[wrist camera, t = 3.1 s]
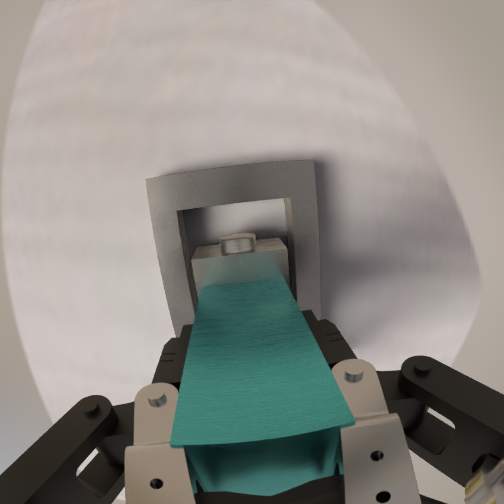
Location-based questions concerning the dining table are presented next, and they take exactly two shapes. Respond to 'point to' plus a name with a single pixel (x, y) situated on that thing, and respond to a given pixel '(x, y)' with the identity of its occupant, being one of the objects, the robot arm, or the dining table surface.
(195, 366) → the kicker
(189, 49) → the dining table surface
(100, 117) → the dining table surface
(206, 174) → the rails
